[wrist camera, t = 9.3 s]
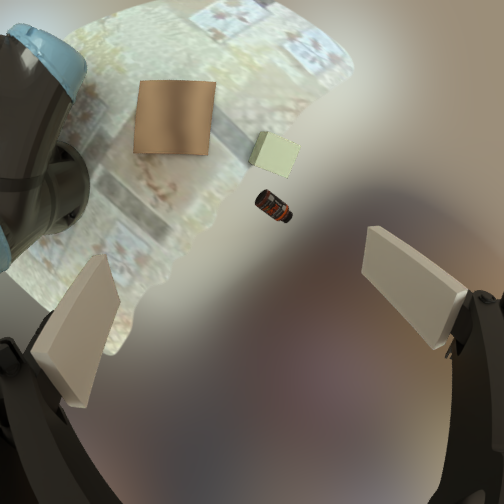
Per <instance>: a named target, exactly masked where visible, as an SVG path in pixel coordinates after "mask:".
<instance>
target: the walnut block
mask: <svg viewBox="0 0 504 504" xmlns="http://www.w3.org/2000/svg"><path fill="white" fill-rule="evenodd" d="M215 88H216V82H206V81H185V80H150V81H140V86H139V94H138V102H137V111H136V121H135V133H134V149H133V153H167V154H196V155H208V148H209V138H210V129H211V120H212V111H213V103H214V95H215Z"/></svg>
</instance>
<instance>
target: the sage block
mask: <svg viewBox="0 0 504 504" xmlns="http://www.w3.org/2000/svg"><path fill="white" fill-rule="evenodd" d="M300 148H301V146H300V145H298V144H296V143H294V142H291V141H289V140H287V139H285V138H282V137H280V136H278V135H275V134H273V133H270V132H260V134H259V137H258V139H257V142H256V144H255V147H254V149H253V151H252V154H251V156H250V159H249V161H248V162H250V163H251V164H253V165H254V166H257V167H260V168H262V169H265V170H268V171H270V172H273V173H275V174H278V175H280V176H283V177H285V178H288V176H289V174H290V172H291V169H292V167H293V164H294V162H295V160H296V157H297V155H298V153H299V150H300Z"/></svg>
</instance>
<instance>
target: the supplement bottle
mask: <svg viewBox="0 0 504 504" xmlns="http://www.w3.org/2000/svg"><path fill="white" fill-rule="evenodd" d="M255 205H256V206H257V207H258V208H259V209H261V210H262V211H263V212H265V213H266V214H267V215H269V216H270V217H271V218H273V219H274V220H276V221H282V222H284V223H288V222H289V221H290V220H291V219H292V216H293V213H292V212H291V211H289V206H288V205H287V204H286V203H285V202H283V201H282V200H281V199H279V198H278V197H277V196H275V195H274V194H273V193H272V192H271V191H269V190H268V189H265V190H263V191H262V192H261V193H260V194H259V195H258V196H257V198H256V200H255Z"/></svg>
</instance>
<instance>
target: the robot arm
mask: <svg viewBox="0 0 504 504" xmlns="http://www.w3.org/2000/svg"><path fill="white" fill-rule="evenodd" d="M6 34H7V36H4V35H0V273H2V272H3V271H6V270H7V269H8V268H9V266H10V265H11V264H12V263H13V262H14V261H15V260H16V259H17V258H18V257H19V256H20V255H21V254H22V253H23V252H24V251H25V250H26V249H27V248H29V247H30V246H31V245H32V244H33V243H34V242H35V241H37V240H38V239H39V238H40V237H41V236H42V235H49V234H55V233H59V232H62V231H64V230H66V229H67V228H69V227H70V226H71V225H72V224H74V223H75V222H76V221H77V220H78V219H79V218H80V216H81V215H82V213H83V212H84V210H85V207H86V205H87V202H88V197H89V190H90V183H89V175H88V171H87V168H86V165H85V163H84V161H83V159H82V157H81V156H80V154H79V153H78V152H77V151H76V150H75V149H74V148H73V147H72V146H70V145H68V144H66V143H64V142H60V141H57V139H58V137H59V134H60V132H61V129H62V127H63V124H64V122H65V120H66V117H67V115H68V113H69V111H70V109H71V107H72V104H74V103H75V101H76V95H77V93H78V90H79V88H80V86H81V84H82V82H83V80H84V78H85V76H86V73H87V64H86V61H85V59H84V58H83V56H82V55H81V54H80V53H79V52H78V51H76V50H75V49H74V48H73V47H71V46H70V45H68V44H67V43H65V42H64V41H62V40H60V39H59V38H57V37H55V36H54V35H52V34H50V33H48V32H45V31H43V30H38V29H37V28H34V27H32V26H30V25H27V24H20V23H19V24H16V25H14V26H13V27H12V28H11V29H9V30H8V31H7V33H6ZM362 274H363V275H364V276H365V277H366V278H367V279H368V280H369V281H370V282H371V283H372V284H373V285H374V286H375V287H376V288H377V289H378V290H379V291H380V292H381V293H382V294H383V295H384V296H385V297H386V299H387V300H388V301H389V302H390V303H391V304H392V305H393V306H394V307H395V308H396V309H397V310H398V311H399V312H400V313H401V315H402V316H403V317H404V318H405V319H406V320H407V321H408V322H409V323H410V324H411V325H412V326H413V328H414V329H415V330H416V331H417V332H418V333H419V334H420V336H421V337H422V338H423V339H424V340H425V341H426V342H427V344H428V345H429V346H430V347H431V348H432V349H433V350H435V349H437V348H439V347H441V346H443V345H445V343H446V341H447V339H448V337H449V335H450V333H451V334H452V335H453V336H454V339H453V341H452V343H451V345H450V347H449V349H448V351H447V353H446V355H445V358H447V357H448V355H449V353H452V355H451V357H450V359H452V403H451V417H450V428H449V437H448V444H447V451H446V456H445V462H444V467H443V472H442V477H441V481H440V484H439V487H438V489H437V491H436V492H435V493H434V494H433V496H432V497H431V499H430V500H429V502H428V504H504V293H503V295H502V298H501V299H497V300H496V298H495V297H494V296H493V295H491V294H490V293H488V292H486V291H482V290H477V291H475V292H474V293H472V292H471V291H470V290H468V289H467V288H466V287H465V286H464V285H462V284H461V283H460V282H459V281H457V280H456V279H455V278H453V277H452V276H451V275H449V274H448V273H447V272H446V271H444V270H443V269H441V268H440V267H439V266H437V265H436V264H435V263H433V262H432V261H431V260H429V259H428V258H426V257H425V256H424V255H422V254H421V253H419V252H418V251H416V250H415V249H413V248H412V247H411V246H409V245H408V244H406V243H405V242H403V241H402V240H400V239H399V238H397V237H396V236H394V235H393V234H391V233H390V232H388V231H387V230H385V229H383V228H382V227H380V226H373V227H368V230H367V239H366V246H365V253H364V260H363V266H362ZM119 305H120V299H119V296H118V293H117V290H116V287H115V283H114V280H113V277H112V274H111V270H110V267H109V263H108V259H107V256H106V254H102V255H95V256H92V257H91V259H90V260H89V261H88V263H87V264H86V265H85V267H84V268H83V269H82V271H81V272H80V273H79V275H78V276H77V278H76V279H75V280H74V282H73V283H72V285H71V286H70V288H69V289H68V290H67V292H66V293H65V295H64V296H63V298H62V299H61V301H60V302H59V304H58V306H57V307H56V309H55V310H52V311H51V312H50V313H49V314H48V315H47V316H46V317H45V318H44V319H43V321H42V323H41V324H40V328H38V329H37V331H36V333H35V335H34V336H33V338H32V339H31V341H30V343H29V345H28V346H27V348H26V350H25V352H24V353H23V354H22V353H21V351H20V349H19V348H18V346H17V345H16V343H15V341H14V339H12V338H10V337H4V338H2V339H0V504H123V503H122V502H121V501H120V500H119V498H118V497H117V496H116V495H115V493H114V492H113V491H112V489H111V488H110V487H109V485H108V484H107V483H106V481H105V480H104V479H103V477H102V476H101V474H100V473H99V471H98V470H97V468H96V467H95V465H94V464H93V462H92V460H91V459H90V457H89V456H88V454H87V453H86V451H85V449H84V447H83V446H82V444H81V442H80V441H79V439H78V437H77V435H76V433H75V431H74V430H73V428H72V426H71V424H70V422H69V420H68V418H67V416H66V414H65V412H64V410H63V408H62V407H61V406H60V404H59V403H60V400H61V397H63V399H64V400H65V401H66V402H67V403H68V405H69V406H72V407H80V408H87V404H88V400H89V396H90V392H91V389H92V385H93V381H94V378H95V375H96V371H97V368H98V365H99V362H100V358H101V355H102V352H103V349H104V346H105V343H106V340H107V337H108V335H109V332H110V329H111V326H112V323H113V321H114V318H115V315H116V313H117V310H118V308H119Z"/></svg>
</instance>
